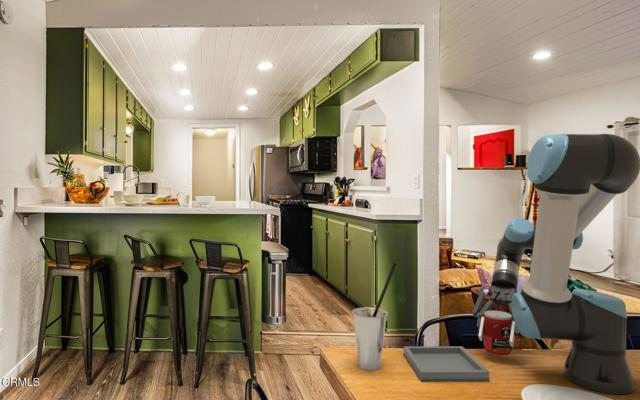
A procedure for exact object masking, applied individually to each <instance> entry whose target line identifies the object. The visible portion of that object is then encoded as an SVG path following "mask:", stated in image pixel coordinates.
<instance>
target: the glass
mask: <svg viewBox="0 0 640 400" xmlns="http://www.w3.org/2000/svg"><path fill="white" fill-rule="evenodd" d="M396 267H397V263H395V262H393V264H392V265H391V269H390V271H389V274H388V276H387V279H386V281H385V284H384V286H383V289H382V291H381V294H380V296H379V299H378V301H377V304H376V307H369V306H368V307H357V308H354V309H353V310H352V312H351V313H352V314H353V320H354V321H353V322H354V332H355V334H354V335H355V342H356V343H355V344H356V356H357V367H358V368H359V369H360V368H361V370H362V369H363V371H366V370H367V371H366V372H374V371H375V372H376V371H379V370H380V369H381V368H382V359H383V358H382V357H383V347H384V342H385V341H384V340H385V334H386V333H385V331H386V322H387V316H388V315H389V311H387V310H385V309H382V308H380V307H381V304H382V302H383V300H384V297H385V294H386V292H387V290H388V287H389V285H390V282H391V280H392V277H393V275H394V272H395V270H396Z"/></svg>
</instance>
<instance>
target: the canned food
mask: <svg viewBox="0 0 640 400" xmlns="http://www.w3.org/2000/svg"><path fill="white" fill-rule="evenodd" d="M512 321H513V316H512V313H509V312H505V311H502V310H501V311H500V310H490V311H486V312H484V334H483V348H484V350H485V351H486V352H487V353H489V354H491V355H492V354H493V355H495V356H509V355H511V354H512V351H513V347H512V346H510V334H511V326H512Z"/></svg>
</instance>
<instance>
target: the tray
mask: <svg viewBox="0 0 640 400" xmlns="http://www.w3.org/2000/svg"><path fill="white" fill-rule="evenodd" d="M403 356H404V358H405V359H406V361H407V362H408V364H409V365H410V367H411V369H412V370H413V371H414V373H415V374H416V377H417V378H418V379H419V381H420V382H421V383H436V382H437V383H438V382H439V383H440V382H442V383H446V382H447V383H448V382H449V383H451V382H453V383H454V382H458V383H460V382H461V383H463V382H464V383H465V382H467V383H468V382H481V383H482V382H490V371H489V370H488V369H487V368H486V367H485V366H484V365H483V364H481V363H480V362H479V361H478V360H477V359H476V358H475V357H474V355H472V354H471V353H469V351H467V350H466V349H465V347H464V346H453V345H452V346H450V345H449V346H448V345H447V346H443V345H442V346H440V345H439V346H434V345H433V346H428V345H427V346H403Z"/></svg>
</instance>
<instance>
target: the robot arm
mask: <svg viewBox="0 0 640 400" xmlns="http://www.w3.org/2000/svg"><path fill="white" fill-rule="evenodd" d="M526 170H527V172H526V173H527V178H528V180H529V181H530V182H531V183H533V184H534V186H533V189H534V190H535V191H536V193H538V195H539V200H538V209H537V215H536V224H533V223H532V222H531V221H530V220H529V219H525V218H524V217H516V218H514V219H511V221H509V223H508V225H507V226H506V227H505V230H504V232H503V236H502V237H501V238H500V239H499V241H498V244H497V246H496V249H497V250H496V257H495V262H494V266H493V272H492V277H491V284H490V287H489V288H485V289H484V287H480V288H479V295H478V297H477V300H476V302H475V305H474V307H473V310H472V315H473V317H474V318H477V323H476V327H477V329H478V336H477V337H478V339H479V341H481V342H483V341H484V312H486V311H492V309H493V307H494V306H496V305H497V304H504V305H507V306H508V308H509V310H510V314H511V315H512V326H511V334H510V346H512V348H513V347H514V344H515V337H516V336H519V335H521V336H523V337H525V338H529V339H537V340H557V341H559V340H560V341H571V348H570V350H569V352H568V355H567V358H566V360H565V363H564V364H563V375H564V377H565V378H566V379H567V380H569V381H570V382H571V383H573V384H575V385H577V386H579V387H582V388H585V389H586V390H587V389H588V390H591V391H595V392H598V393H605V394H610V395H611V394H612V395H628V394H631V393H633V392H634V390H635V381H634V380H635V379H634V377H633V374H632V372H631V368H630V365H629V363H628V360H627V355H626V353H627V351H626V350H627V319H628V315H627V307H626V306H627V305H626V303H625V301H624V300H622V299H621V298H619V297H617V296H615V295H612V294H611V295H610V294H607V293H604V292H601V291H596V290H590V289H583V288H574V289H573V290H572V292H571V291H570V289H568V288H567V286H568V282H569V281H568V279H569V273H570V266H571V261H572V256H573V250H578V249H580V248H581V247H582V245H583V244H582V243H583V242H584V234H583V231H584V230H585V229H586V228H587V227H588V226H589V225H590V224H591V222H593V221H594V219H595V218H596V217H597V216H598V215H599V214H600V213H601V212H602V211H603V210H604V209H605V208H606V206H607V205H608V204H610V203H611V201H612V200H613V199H614V198H615V197H616V196H617V195H620V194H623V193H625V192H627V191H628V190H629V188H631V186H633V184H634V183H635V181H636V180H637V179H638V176H639V174H640V154H639V152H638V149H637V148H636V147H635V145H634V144H632V143H631V142H630V141H629V140H627V139H626V138H624V137H622V136H619V135H616V134H611V133H600V134H598V133H596V134H595V133H592V134H588V133H587V134H585V133H582V134H581V133H580V134H578V133H569V134H568V133H558V134H547V135H543V136H541V137H540V138H538V139H537V140H536V141H535V143H534V144H533V146H532V148H531V150H530V152H529V154H528V158H527V164H526ZM527 249H528V250H529V249H532V254H531V255H532V256H531V263H530V270H529V278H528V280H527V281H525V282H523V283H522V284H521V292H518V283H519V274H520V266H521V260H522V256H523V255H524V252H525V250H527ZM487 295H490V297H489V299H488V301H487V302H486V304H484V302H485V298H486V297H487ZM483 304H484V306H483ZM513 320H514V321H513Z"/></svg>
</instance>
